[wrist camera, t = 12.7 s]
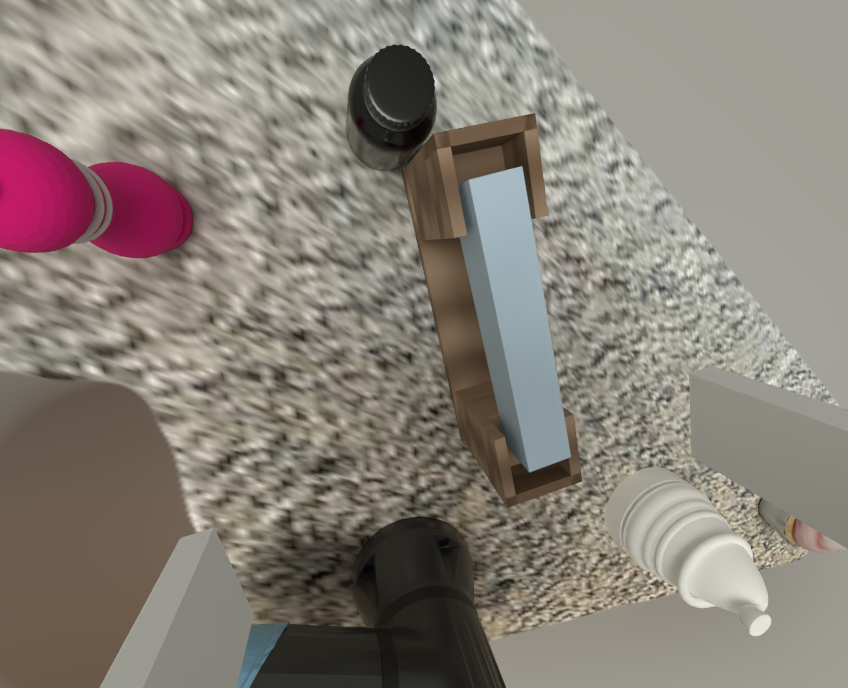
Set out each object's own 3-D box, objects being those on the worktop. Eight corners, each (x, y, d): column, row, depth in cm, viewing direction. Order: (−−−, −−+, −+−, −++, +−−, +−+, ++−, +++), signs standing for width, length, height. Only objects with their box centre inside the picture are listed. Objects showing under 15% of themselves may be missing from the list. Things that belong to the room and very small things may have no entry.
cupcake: (807, 495, 63) (890, 539, 54) (766, 536, 64) (841, 587, 54) (783, 463, 60) (866, 504, 51) (740, 507, 61) (814, 555, 51)
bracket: (522, 421, 49) (584, 480, 36) (461, 440, 48) (504, 508, 35) (476, 153, 40) (538, 112, 28) (401, 169, 39) (430, 134, 26)
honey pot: (603, 554, 57) (716, 686, 40) (604, 477, 54) (729, 586, 37) (679, 533, 59) (817, 649, 42) (685, 458, 56) (837, 552, 39)
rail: (542, 431, 39) (571, 457, 34) (505, 444, 38) (529, 472, 34) (495, 177, 32) (522, 166, 27) (449, 189, 31) (468, 179, 27)
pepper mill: (183, 269, 37) (20, 294, 18) (98, 235, 35) (-190, 222, 16) (210, 197, 36) (67, 142, 17) (124, 157, 34) (-149, 44, 15)
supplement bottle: (429, 121, 38) (467, 68, 27) (396, 185, 39) (420, 160, 28) (366, 77, 36) (379, 0, 25) (333, 146, 37) (331, 101, 26)
